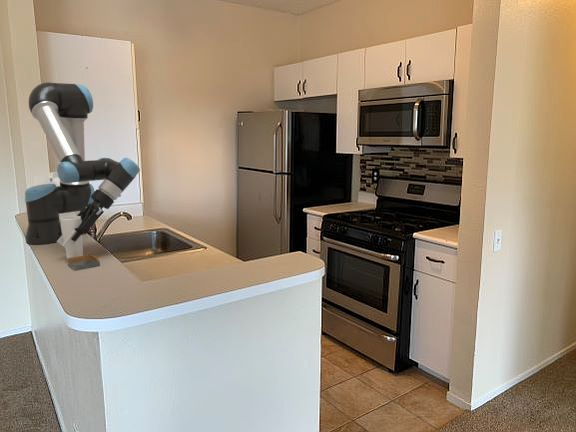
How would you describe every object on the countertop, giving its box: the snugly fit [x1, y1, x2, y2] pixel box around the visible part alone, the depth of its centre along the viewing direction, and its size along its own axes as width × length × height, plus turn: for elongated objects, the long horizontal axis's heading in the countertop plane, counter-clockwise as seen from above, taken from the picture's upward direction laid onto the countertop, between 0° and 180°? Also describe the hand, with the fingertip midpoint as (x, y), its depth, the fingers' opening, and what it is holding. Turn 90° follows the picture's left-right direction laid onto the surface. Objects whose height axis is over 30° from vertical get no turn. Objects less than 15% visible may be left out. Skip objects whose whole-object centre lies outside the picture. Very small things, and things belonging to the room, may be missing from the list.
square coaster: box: [66, 253, 101, 271], centre depth 154 cm, size 8×8×2 cm
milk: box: [44, 171, 77, 223], centre depth 230 cm, size 12×12×26 cm
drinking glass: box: [60, 215, 84, 261], centre depth 162 cm, size 7×7×15 cm
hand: (62, 245), depth 160 cm, fingers closed on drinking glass, 7 cm apart
